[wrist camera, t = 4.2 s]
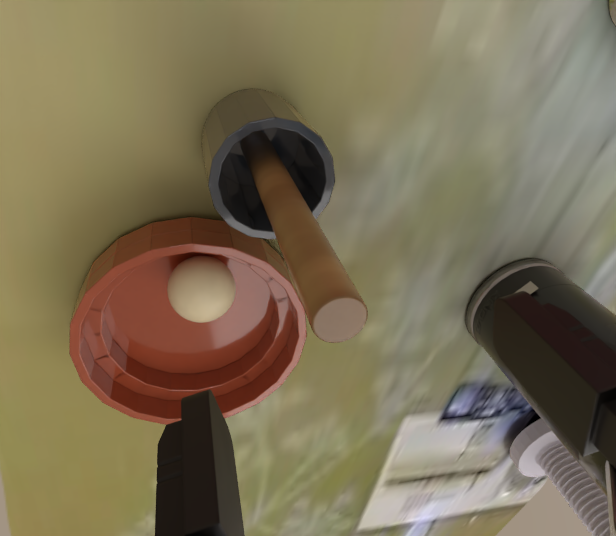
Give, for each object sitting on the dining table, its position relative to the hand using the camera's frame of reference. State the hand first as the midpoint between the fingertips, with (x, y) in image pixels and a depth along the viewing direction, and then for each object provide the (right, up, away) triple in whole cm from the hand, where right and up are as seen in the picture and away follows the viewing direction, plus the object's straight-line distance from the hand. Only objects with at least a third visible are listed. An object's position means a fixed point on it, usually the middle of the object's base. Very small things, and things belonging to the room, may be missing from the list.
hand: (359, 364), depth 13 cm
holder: (-5, +11, +17) cm, 20 cm away
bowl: (-10, 0, +22) cm, 24 cm away
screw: (+25, -16, +42) cm, 52 cm away
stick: (-5, +10, +16) cm, 20 cm away
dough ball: (-9, +2, +20) cm, 22 cm away
